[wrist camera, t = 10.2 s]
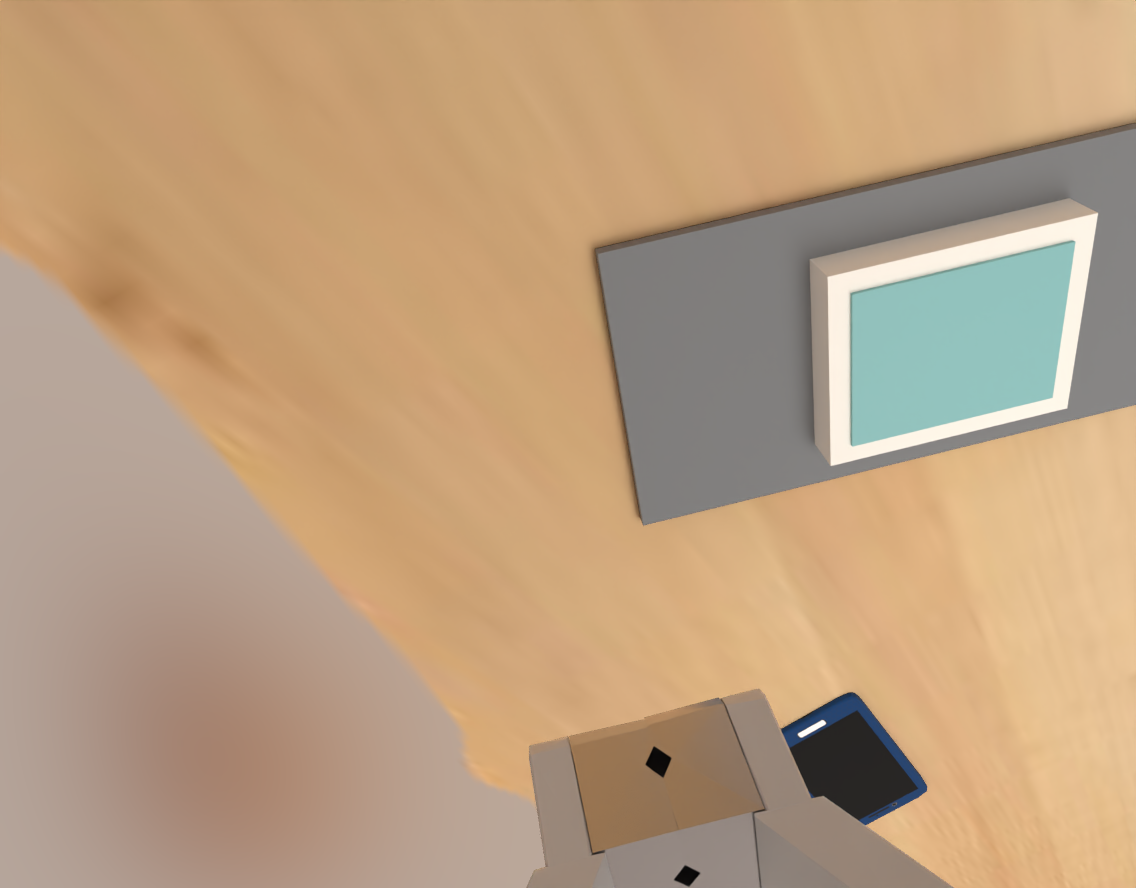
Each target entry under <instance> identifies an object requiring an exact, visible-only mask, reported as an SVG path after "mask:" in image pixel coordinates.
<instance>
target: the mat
mask: <svg viewBox="0 0 1136 888" xmlns="http://www.w3.org/2000/svg"><path fill="white" fill-rule="evenodd" d="M1068 198H1070V199H1072V200H1074V201H1076V202H1078V203H1080V204H1082V205H1084V206H1085V207H1087V208H1089V209H1091V210H1093V211H1095V212H1097V213H1098V217H1097V223H1096V230H1095V236H1094V242H1093V249H1092V255H1091V261H1090V268H1089V274H1088V280H1087V286H1086V293H1085V299H1084V305H1083V312H1082V318H1081V324H1080V331H1079V337H1078V343H1077V350H1076V356H1075V362H1074V368H1073V375H1072V381H1071V387H1070V394H1069V400H1068V406H1067V408H1066V409H1062V410H1058V411H1054V412H1050V413H1046V414H1042V415H1038V416H1034V417H1029V418H1025V419H1021V420H1017V421H1013V422H1009V423H1005V424H1001V425H997V426H993V427H989V428H984V429H980V430H976V431H972V432H968V433H964V434H960V435H956V436H952V437H948V438H944V439H940V440H935V441H931V442H927V443H923V444H919V445H915V446H911V447H907V448H903V449H899V450H895V451H890V452H886V453H882V454H878V455H874V456H870V457H866V458H862V459H858V460H854V461H850V462H846V463H841V464H837V465H833V466H830V464H829V463H828V462H827V460H826V459H825V457H824V456H823V455H822V453H821V452H820V450H819V449H818V448H817V446H816V445H815V434H814V399H813V363H812V327H811V291H810V259H813V258H818V257H822V256H826V255H830V254H835V253H839V252H843V251H847V250H852V249H856V248H860V247H864V246H869V245H873V244H877V243H881V242H886V241H890V240H894V239H898V238H903V237H907V236H911V235H915V234H920V233H924V232H928V231H932V230H937V229H941V228H945V227H949V226H954V225H958V224H962V223H966V222H971V221H975V220H979V219H983V218H987V217H992V216H996V215H1000V214H1004V213H1009V212H1013V211H1017V210H1021V209H1026V208H1030V207H1034V206H1038V205H1043V204H1047V203H1051V202H1055V201H1060V200H1064V199H1068ZM595 251H596V257H597V263H598V269H599V275H600V281H601V287H602V293H603V299H604V305H605V310H606V316H607V322H608V328H609V334H610V340H611V346H612V352H613V358H614V364H615V370H616V376H617V381H618V387H619V393H620V399H621V405H622V411H623V417H624V423H625V429H626V435H627V441H628V447H629V452H630V458H631V464H632V470H633V476H634V482H635V488H636V494H637V500H638V506H639V512H640V518H641V521H642V523H643V525H647V524H651V523H655V522H660V521H664V520H668V519H672V518H676V517H680V516H684V515H688V514H692V513H696V512H700V511H704V510H708V509H713V508H717V507H721V506H725V505H729V504H733V503H737V502H741V501H745V500H749V499H753V498H757V497H761V496H766V495H770V494H774V493H778V492H782V491H786V490H790V489H794V488H798V487H802V486H806V485H810V484H814V483H819V482H823V481H827V480H831V479H835V478H839V477H843V476H847V475H851V474H855V473H859V472H863V471H867V470H872V469H876V468H880V467H884V466H888V465H892V464H896V463H900V462H904V461H908V460H912V459H916V458H920V457H925V456H929V455H933V454H937V453H941V452H945V451H949V450H953V449H957V448H961V447H965V446H969V445H973V444H978V443H982V442H986V441H990V440H994V439H998V438H1002V437H1006V436H1010V435H1014V434H1018V433H1022V432H1026V431H1031V430H1035V429H1039V428H1043V427H1047V426H1051V425H1055V424H1059V423H1063V422H1067V421H1071V420H1075V419H1079V418H1084V417H1088V416H1092V415H1096V414H1100V413H1104V412H1108V411H1112V410H1116V409H1120V408H1124V407H1128V406H1132V405H1136V123H1133V124H1129V125H1125V126H1120V127H1116V128H1112V129H1107V130H1103V131H1099V132H1095V133H1090V134H1086V135H1082V136H1077V137H1073V138H1069V139H1065V140H1060V141H1056V142H1052V143H1047V144H1043V145H1039V146H1035V147H1030V148H1026V149H1022V150H1017V151H1013V152H1009V153H1004V154H1000V155H996V156H992V157H987V158H983V159H979V160H974V161H970V162H966V163H962V164H957V165H953V166H949V167H944V168H940V169H936V170H932V171H927V172H923V173H919V174H914V175H910V176H906V177H902V178H897V179H893V180H889V181H884V182H880V183H876V184H871V185H867V186H863V187H859V188H854V189H850V190H846V191H841V192H837V193H833V194H829V195H824V196H820V197H816V198H811V199H807V200H803V201H799V202H794V203H790V204H786V205H781V206H777V207H773V208H768V209H764V210H760V211H756V212H751V213H747V214H743V215H738V216H734V217H730V218H726V219H721V220H717V221H713V222H708V223H704V224H700V225H696V226H691V227H687V228H683V229H678V230H674V231H670V232H665V233H661V234H657V235H653V236H648V237H644V238H640V239H635V240H631V241H627V242H623V243H618V244H614V245H610V246H605V247H601V248H597V249H595Z"/></svg>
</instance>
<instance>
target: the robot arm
mask: <svg viewBox="0 0 1136 888" xmlns="http://www.w3.org/2000/svg"><path fill="white" fill-rule="evenodd" d="M644 718H645V719H643V720H639V721H634V722H630V723H625V724H621V725H616V726H612V727H607V728H603V729H598V730H594V731H589V732H585V733H580V734H576V735H572V736H569V737H568V736H567V737H563V738H559V739H555V740H551V741H547V742H542V743H538V744H534V745H530V746H529V760H530V767H531V774H532V780H533V787H534V793H535V800H536V807H537V813H538V819H539V826H540V833H541V839H542V846H543V853H544V859H545V865H546V867H544V868H540V869H537V870H534V872H533V874H532V876H531V879H530V881H529V883H528V885H527V888H954V887H952V886H951V885H949V884H948V883H946V882H945V881H944V880H942V879H941V878H939V877H938V876H936V875H935V874H934V873H932V872H931V871H929V870H928V869H927V868H925V867H924V866H922V865H921V864H919V863H918V862H917V861H915V860H914V859H912V858H911V857H909V856H908V855H907V854H905V853H904V852H902V851H901V850H899V849H898V848H897V847H895V846H894V845H892V844H891V843H890V842H888V841H887V840H885V839H884V838H882V837H881V836H880V835H878V834H877V833H875V832H874V831H872V830H871V829H870V828H868V827H867V826H865V825H864V824H863V823H861V822H860V821H858V820H857V819H855V818H854V817H853V816H851V815H850V814H848V813H847V812H845V811H844V810H843V809H841V808H840V807H838V806H837V805H835V804H834V803H833V802H831V801H830V800H828V799H827V798H826V797H824V796H821V797H816V798H811V796H810V794H809V792H808V789H807V787H806V785H805V783H804V780H803V778H802V776H801V774H800V772H799V769H798V767H797V765H796V763H795V760H794V758H793V756H792V754H791V752H790V749H789V747H788V745H787V743H786V740H785V738H784V736H783V734H782V731H781V729H780V727H779V725H778V723H777V720H776V718H775V716H774V714H773V711H772V709H771V707H770V705H769V703H768V700H767V698H766V696H765V694H764V693H763V692H762V691H761V690H760V689H754V690H750V691H746V692H743V693H739V694H735V695H731V696H727V697H723V698H721V699H719V698H715V699H711V700H708V701H704V702H700V703H697V704H693V705H689V706H685V707H682V708H678V709H674V710H670V711H667V712H663V713H659V714H655V715H652V716H648V717H644ZM569 738H570V739H569Z"/></svg>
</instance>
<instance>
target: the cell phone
mask: <svg viewBox="0 0 1136 888" xmlns="http://www.w3.org/2000/svg"><path fill="white" fill-rule="evenodd" d="M781 731H782V734H783V736H784V738H785V740H786V743H787V745H788V747H789V749H790V752H791V754H792V756H793V758H794V760H795V763H796V765H797V767H798V769H799V772H800V774H801V776H802V778H803V780H804V783H805V785H806V787H807V789H808V792H809V794H810V796H811V798H816V797H821V796H824V797H826V798H827V799H828V800H830V801H831V802H833V803H834V804H835V805H837V806H838V807H840V808H841V809H843V810H844V811H845V812H847V813H848V814H850V815H851V816H853V817H854V818H855V819H857V820H858V821H860V822H861V823H863V824H864V825H867V824H869V823H871V822H873V821H874V820H876V819H878V818H880V817H882V816H884V815H886V814H888V813H890V812H892V811H893V810H895V809H897V808H899V807H901V806H903V805H905V804H907V803H909V802H910V801H912V800H914V799H916V798H918V797H919V796H921V795H922V794H923V793H925V792H926V791H927V785H926V784H925V782H924V780H923V779H922V777H921V775H920V774H919V773H918V772H917V770H916V769H915V768H914V766H913V765H912V764H911V763H910V761H909V760H908V759H907V757H906V756H905V755H904V754H903V752H902V751H901V750H900V748H899V747H898V746H897V744H896V743H895V742H894V741H893V739H892V738H891V737H890V735H889V734H888V733H887V732H886V730H885V729H884V728H883V726H882V725H881V724H880V723H879V721H878V720H877V719H876V717H875V716H874V715H873V714H872V712H871V711H870V710H869V708H868V707H867V706H866V705H865V703H864V702H863V701H862V699H861V698H860V697H859V696H858V695H856V694H855V693H852V692H851V693H847V694H844V695H842V696H840V697H838V698H836V699H834V700H832V701H831V702H829V703H827V704H825V705H823V706H822V707H820V708H818V709H816V710H814V711H813V712H811V713H809V714H807V715H806V716H804V717H802V718H800V719H798V720H797V721H795V722H793V723H791V724H790V725H788V726H786V727H784V728H782V729H781Z"/></svg>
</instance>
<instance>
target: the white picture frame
mask: <svg viewBox="0 0 1136 888" xmlns="http://www.w3.org/2000/svg"><path fill="white" fill-rule="evenodd" d="M1097 217H1098V213H1097V212H1095V211H1093V210H1091V209H1089V208H1087V207H1085V206H1084V205H1082V204H1080V203H1078V202H1076V201H1074V200H1072V199H1070V198H1068V199H1064V200H1060V201H1055V202H1051V203H1047V204H1043V205H1038V206H1034V207H1030V208H1026V209H1021V210H1017V211H1013V212H1009V213H1004V214H1000V215H996V216H992V217H987V218H983V219H979V220H975V221H971V222H966V223H962V224H958V225H954V226H949V227H945V228H941V229H937V230H932V231H928V232H924V233H920V234H915V235H911V236H907V237H903V238H898V239H894V240H890V241H886V242H881V243H877V244H873V245H869V246H864V247H860V248H856V249H852V250H847V251H843V252H839V253H835V254H830V255H826V256H822V257H818V258H813V259H810V291H811V327H812V363H813V399H814V434H815V445H816V446H817V448H818V449H819V450H820V452H821V453H822V455H823V456H824V457H825V459H826V460H827V462H828V463H829V464H830V466H833V465H837V464H841V463H846V462H850V461H854V460H858V459H862V458H866V457H870V456H874V455H878V454H882V453H886V452H890V451H895V450H899V449H903V448H907V447H911V446H915V445H919V444H923V443H927V442H931V441H935V440H940V439H944V438H948V437H952V436H956V435H960V434H964V433H968V432H972V431H976V430H980V429H984V428H989V427H993V426H997V425H1001V424H1005V423H1009V422H1013V421H1017V420H1021V419H1025V418H1029V417H1034V416H1038V415H1042V414H1046V413H1050V412H1054V411H1058V410H1062V409H1066V408H1067V406H1068V400H1069V394H1070V387H1071V381H1072V375H1073V368H1074V362H1075V356H1076V350H1077V343H1078V337H1079V331H1080V324H1081V318H1082V312H1083V305H1084V299H1085V293H1086V286H1087V280H1088V274H1089V268H1090V261H1091V255H1092V249H1093V242H1094V236H1095V230H1096V223H1097Z"/></svg>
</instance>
